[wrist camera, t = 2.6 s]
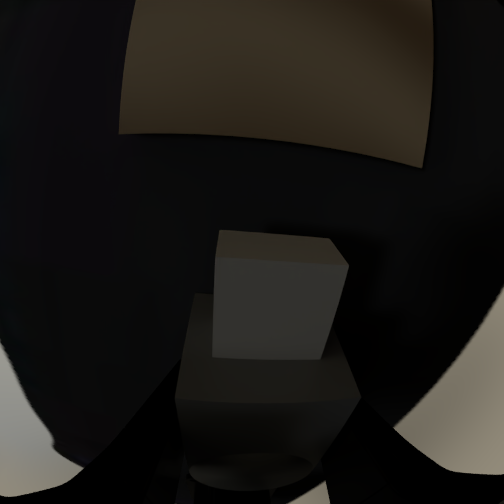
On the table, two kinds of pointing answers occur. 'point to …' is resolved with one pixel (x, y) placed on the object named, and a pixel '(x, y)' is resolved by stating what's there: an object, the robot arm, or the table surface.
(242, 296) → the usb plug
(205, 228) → the table surface
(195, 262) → the table surface
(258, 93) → the trivet
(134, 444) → the robot arm
